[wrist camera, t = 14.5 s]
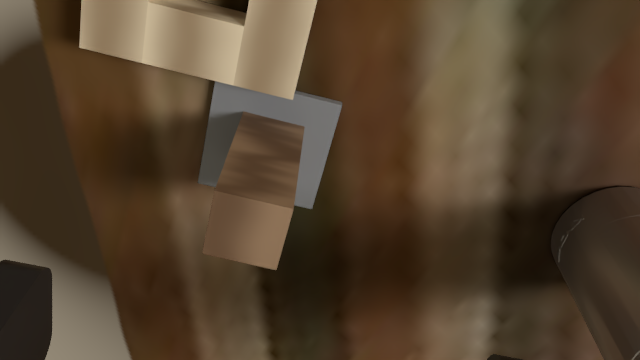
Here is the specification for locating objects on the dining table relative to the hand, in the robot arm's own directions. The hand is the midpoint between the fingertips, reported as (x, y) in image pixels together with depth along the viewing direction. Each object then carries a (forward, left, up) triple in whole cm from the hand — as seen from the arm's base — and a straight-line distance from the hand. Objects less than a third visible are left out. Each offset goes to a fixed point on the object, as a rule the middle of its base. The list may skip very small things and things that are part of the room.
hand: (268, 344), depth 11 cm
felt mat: (+1, +12, -32) cm, 34 cm away
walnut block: (+1, +12, -31) cm, 33 cm away
